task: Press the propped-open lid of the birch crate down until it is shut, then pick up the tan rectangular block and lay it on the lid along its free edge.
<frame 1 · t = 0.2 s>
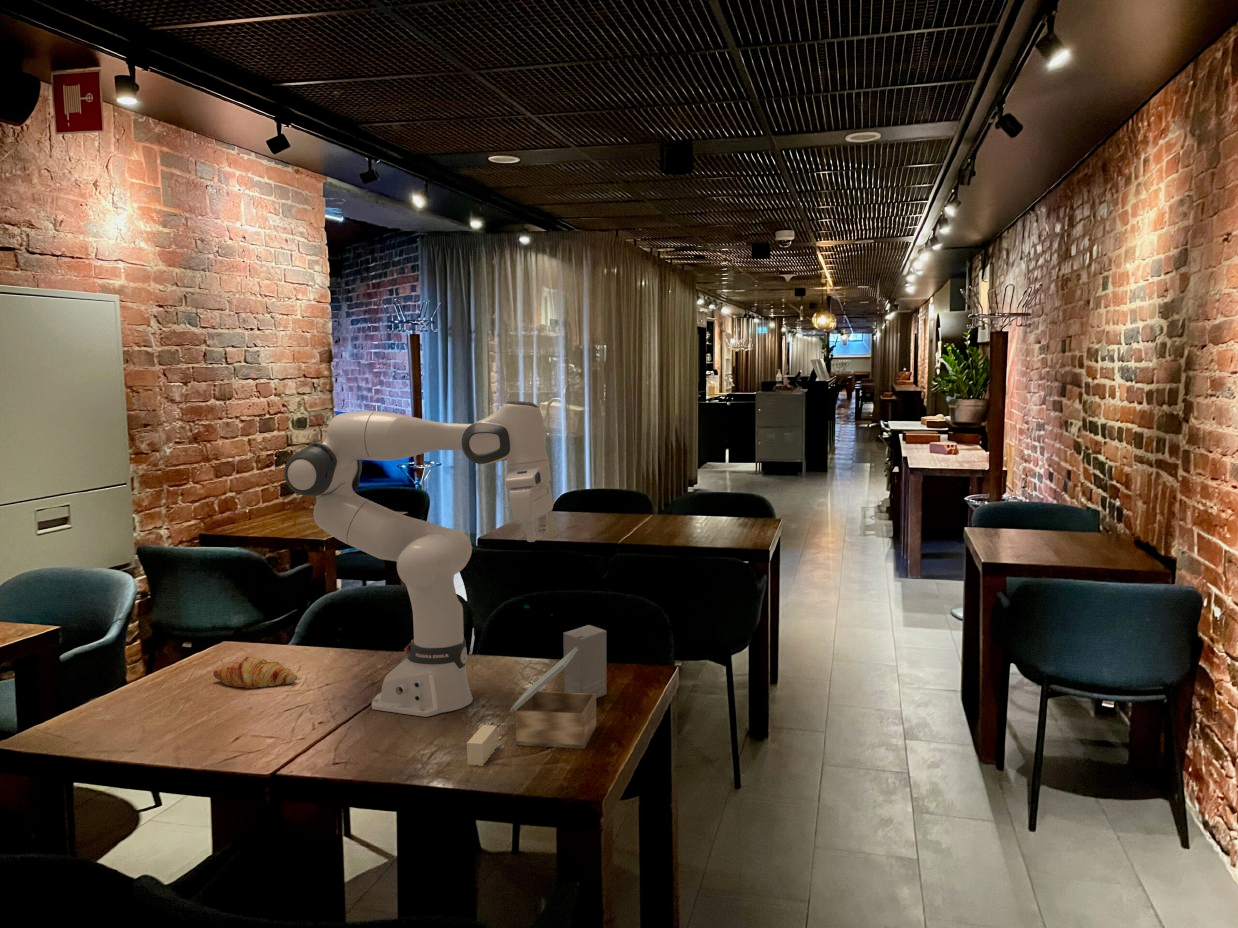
hand: (537, 537, 201), 39 cm above the table, tool pointing down, fingers open, 8 cm apart
skincare box: (585, 697, 211), on the table
croissant: (255, 685, 224), on the table
crate: (557, 735, 189), on the table
tan rectangular block: (482, 756, 179), on the table
lid: (544, 679, 188), point 12 cm above the table, hinge at 42.0°
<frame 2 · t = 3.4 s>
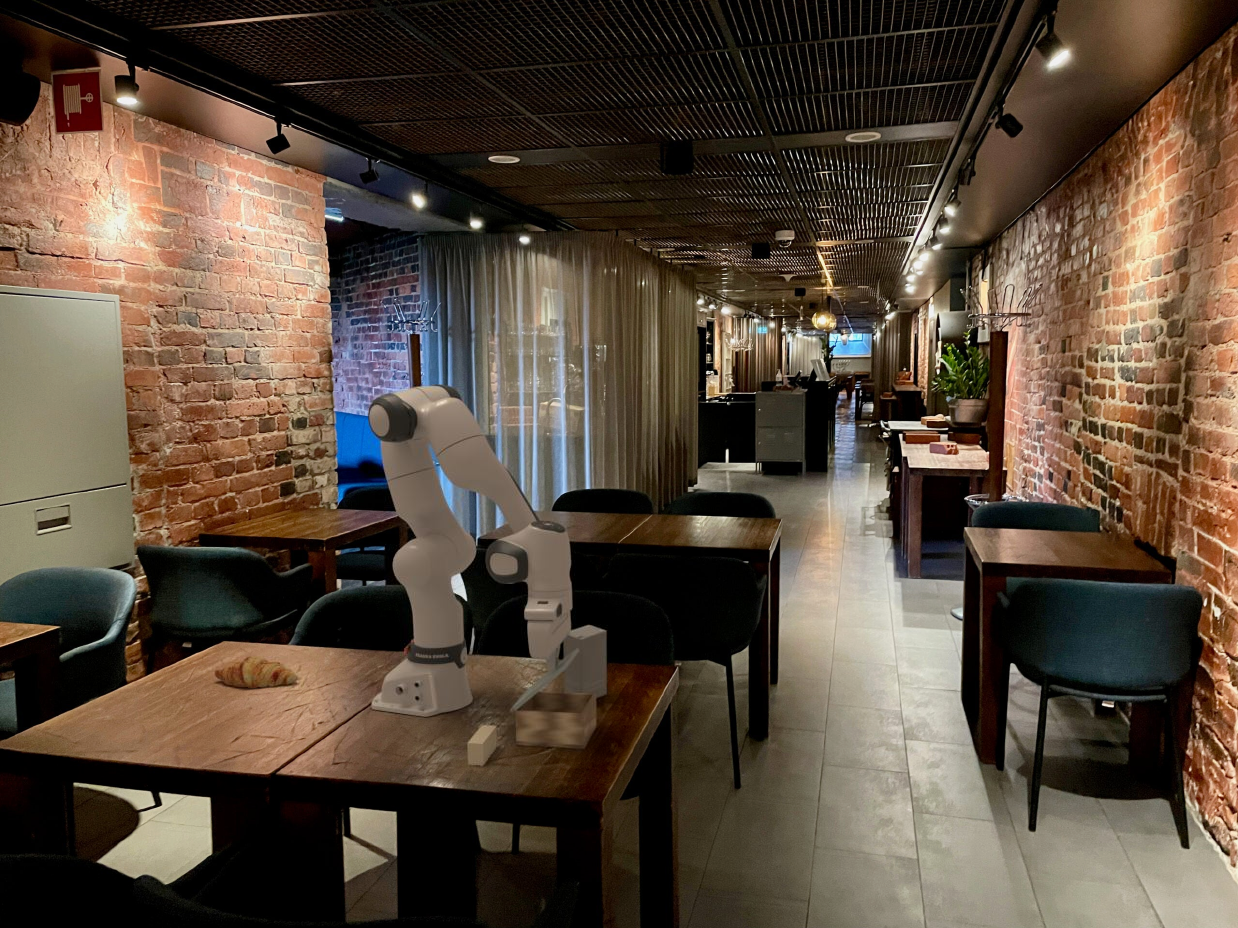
hand: (552, 667, 188), 14 cm above the table, tool pointing down, fingers closed, pressing on lid
lid: (544, 679, 188), point 12 cm above the table, hinge at 40.7°, touching gripper
everything else where it was.
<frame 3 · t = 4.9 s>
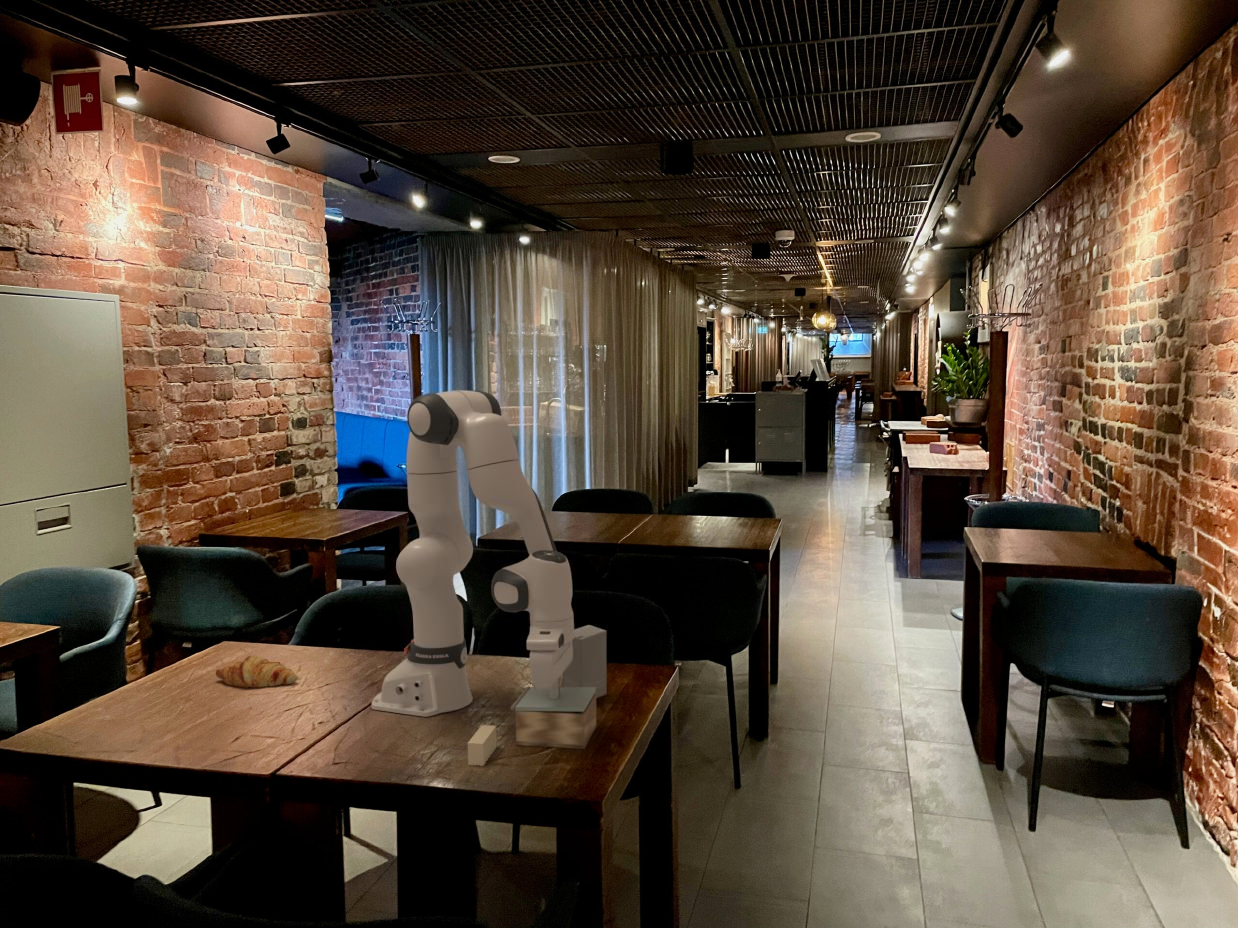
hand: (555, 696, 188), 8 cm above the table, tool pointing down, fingers closed, pressing on lid
lid: (554, 698, 188), point 8 cm above the table, hinge at 2.4°, touching gripper
everything else where it was.
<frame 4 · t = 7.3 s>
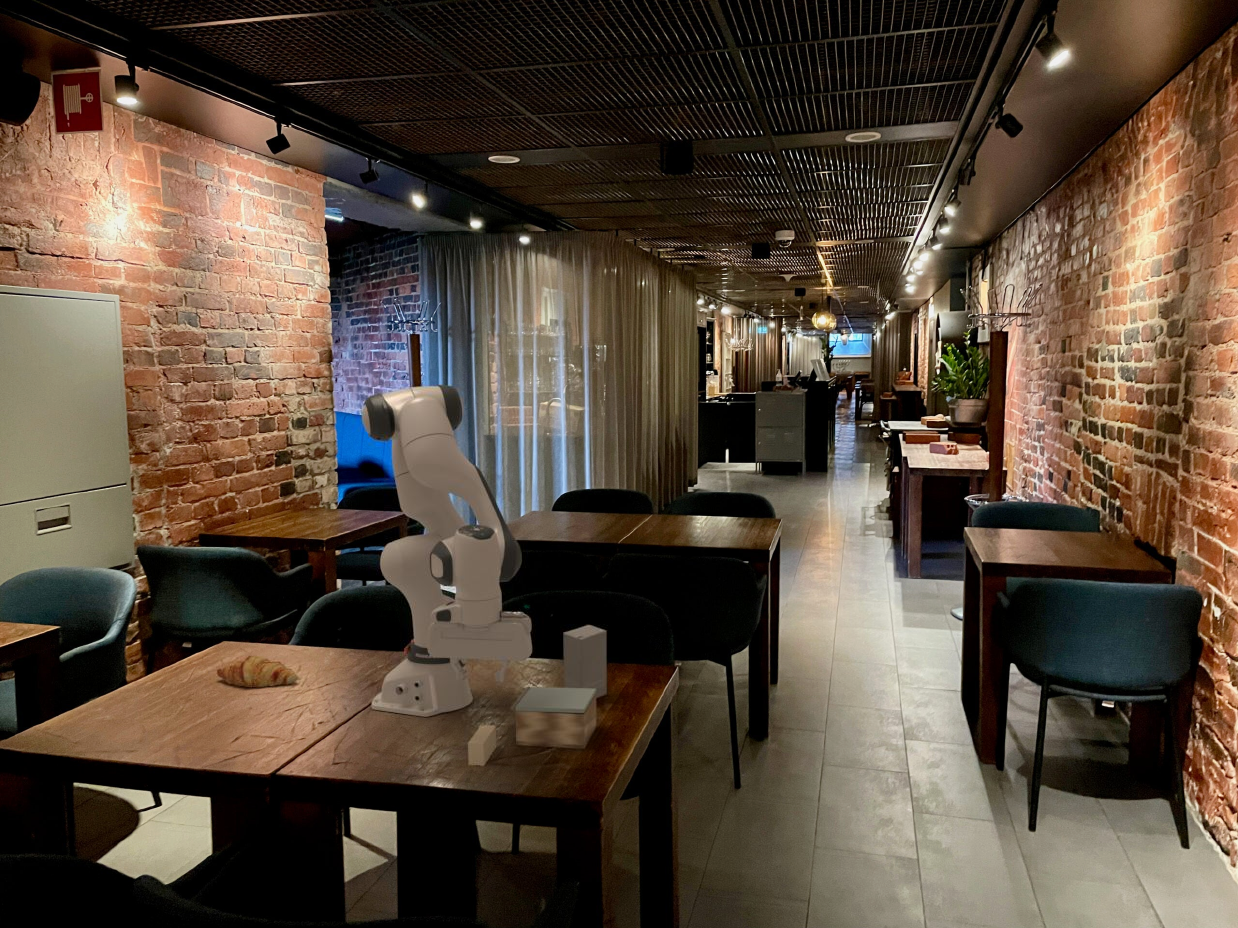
hand: (480, 680, 178), 15 cm above the table, tool pointing down, fingers open, 6 cm apart
lid: (554, 699, 188), point 8 cm above the table, hinge at 1.2°
everything else where it was.
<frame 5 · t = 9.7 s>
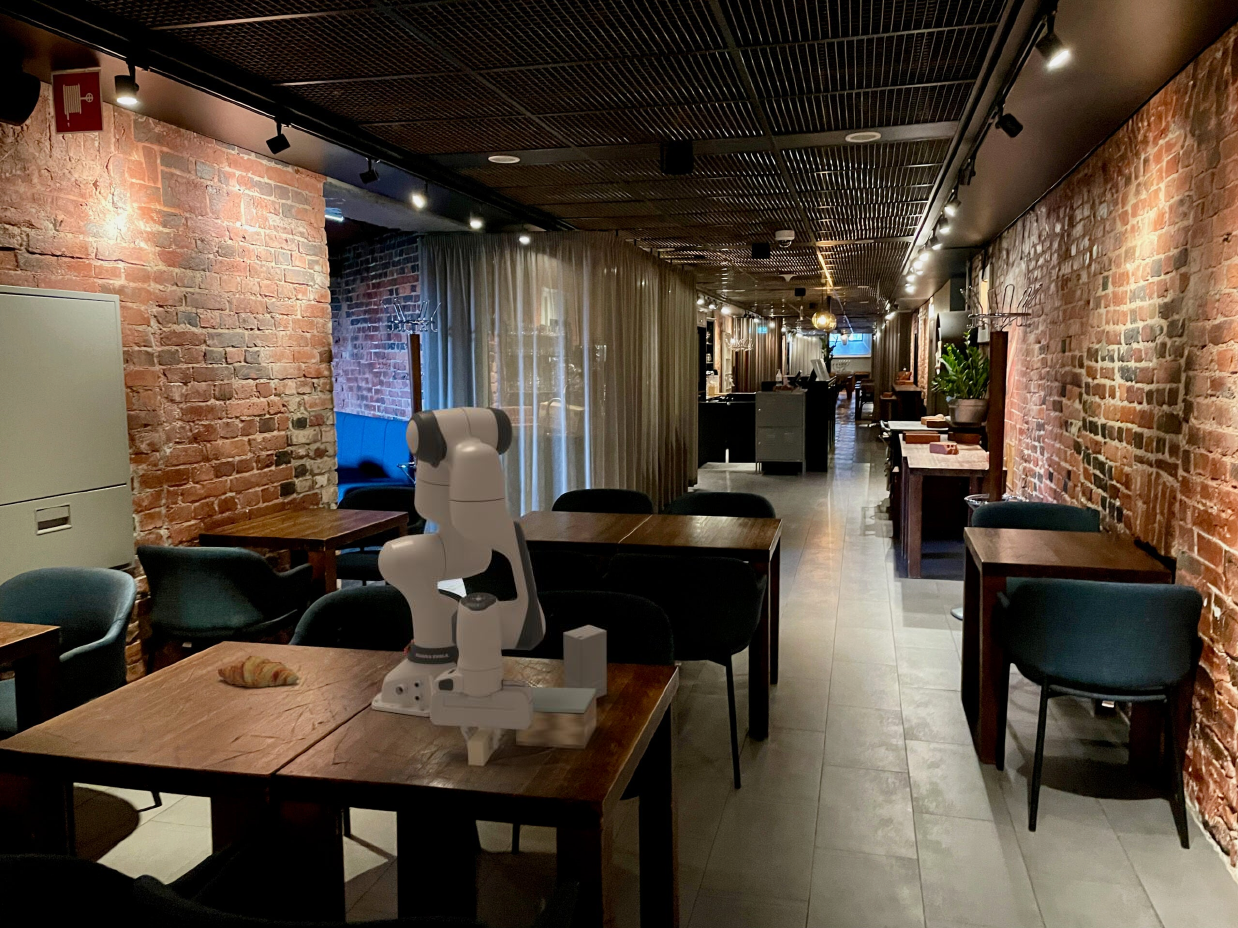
hand: (482, 747, 179), 2 cm above the table, tool pointing down, fingers closed on tan rectangular block, 3 cm apart
tan rectangular block: (482, 755, 179), on the table, touching gripper
everything else where it was.
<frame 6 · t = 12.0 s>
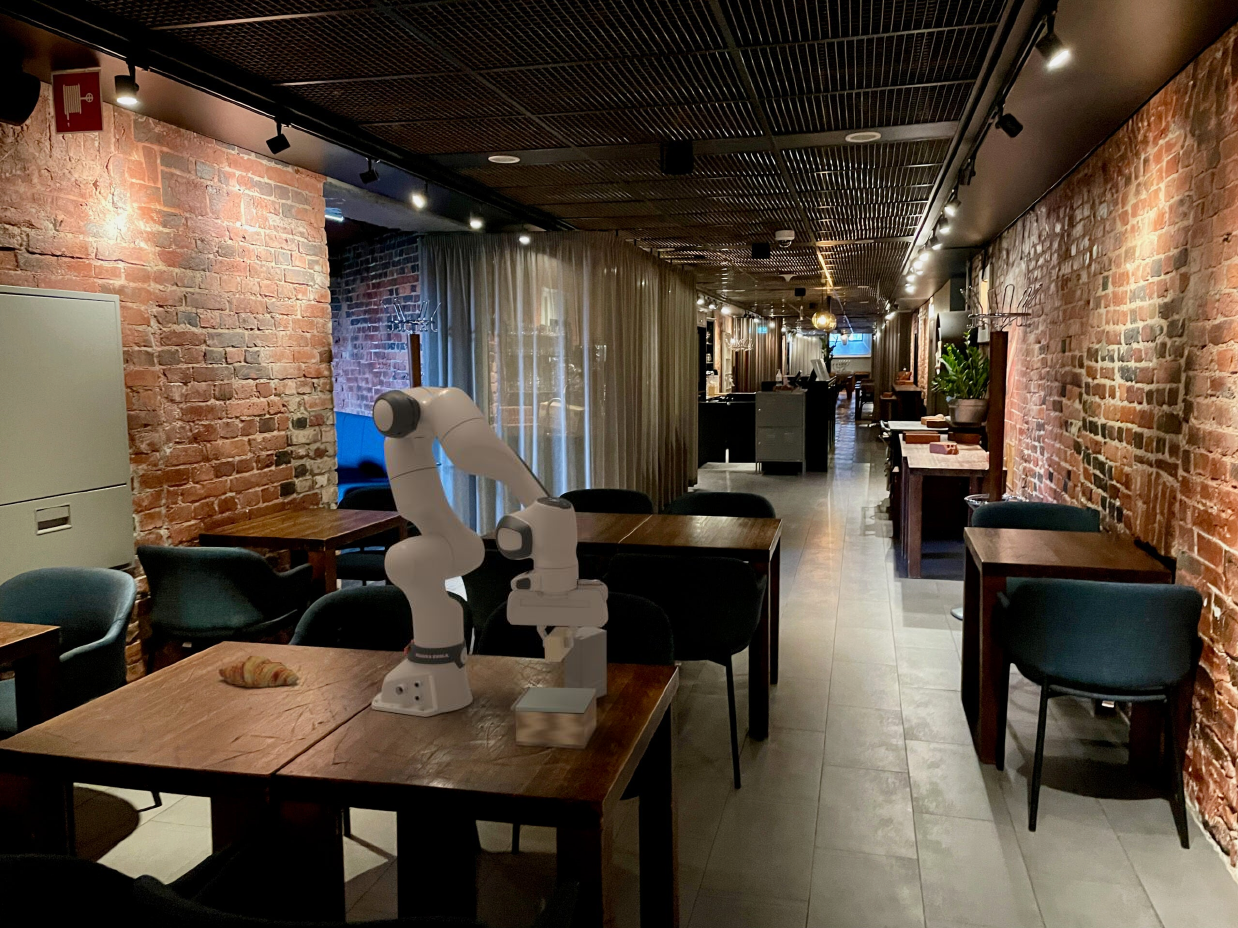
hand: (558, 646, 184), 20 cm above the table, tool pointing down, fingers closed on tan rectangular block, 3 cm apart
tan rectangular block: (558, 654, 184), point 18 cm above the table, touching gripper
everything else where it was.
when the fingers open (10 cm above the table, at t = 14.4 s): tan rectangular block stays where it is, resting on lid.
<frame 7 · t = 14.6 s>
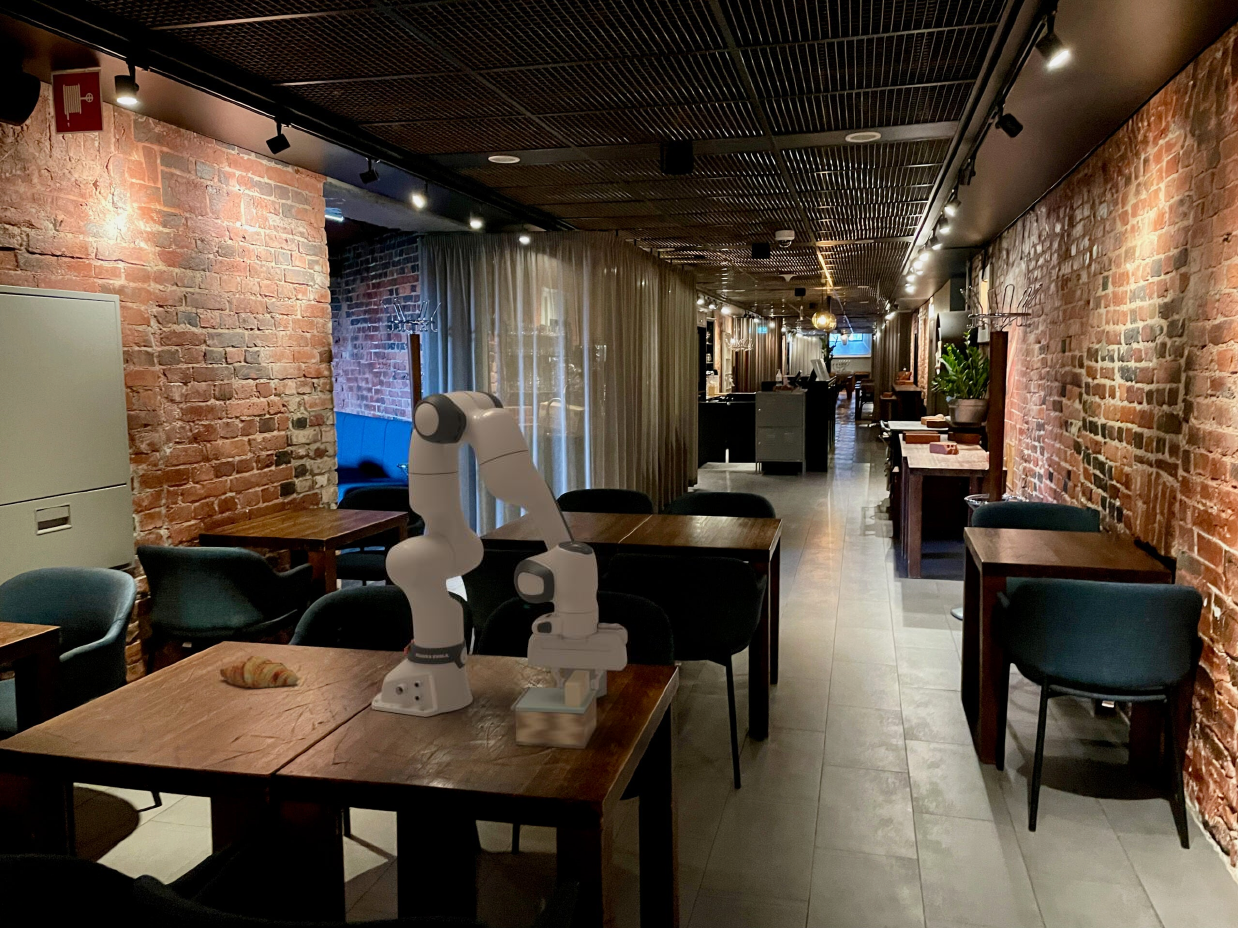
hand: (577, 688, 187), 10 cm above the table, tool pointing down, fingers open, 5 cm apart
tan rectangular block: (577, 698, 187), point 8 cm above the table, touching lid
lid: (554, 699, 188), point 8 cm above the table, hinge at 0.7°, touching tan rectangular block
everything else where it was.
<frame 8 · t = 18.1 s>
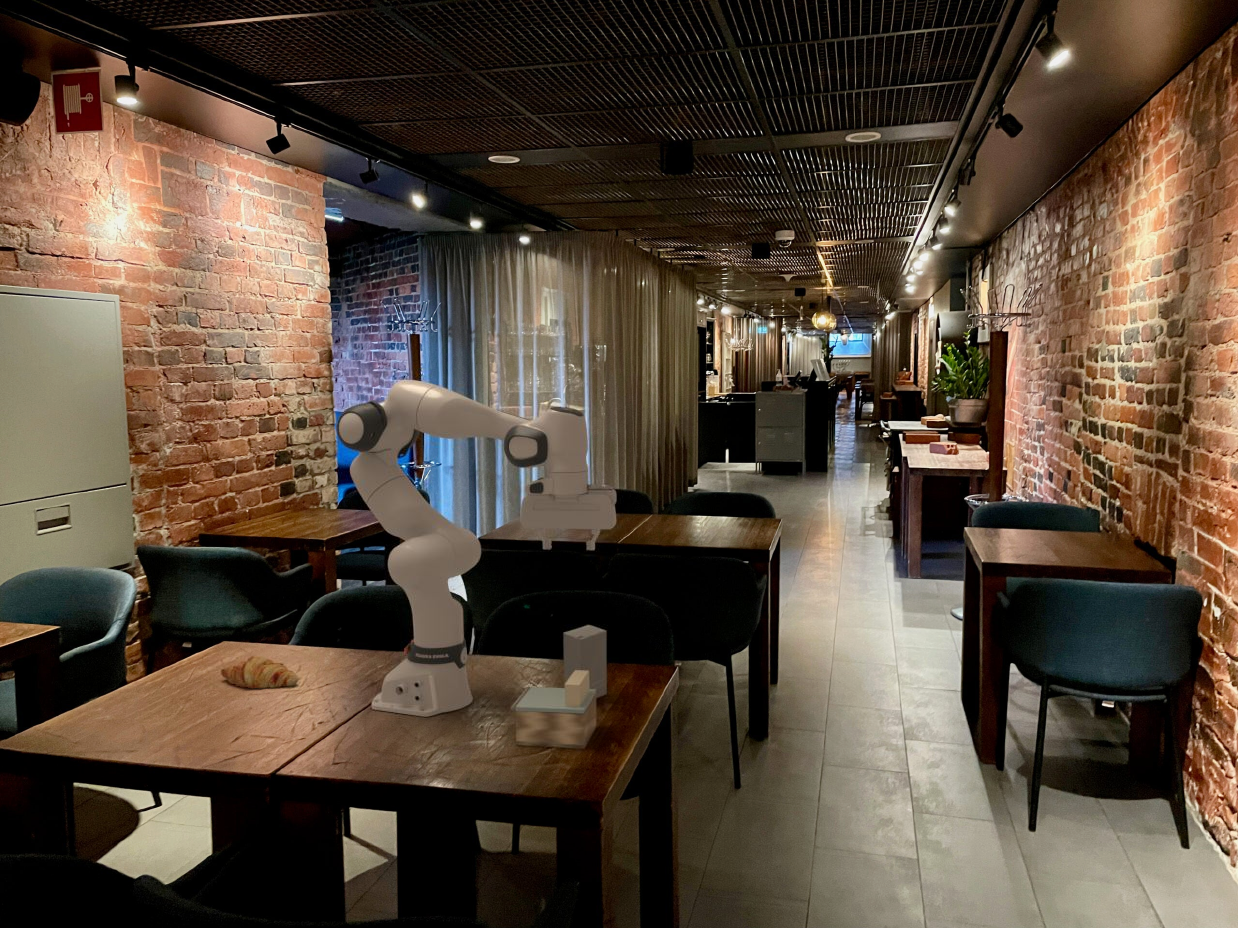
hand: (568, 549, 194), 37 cm above the table, tool pointing down, fingers open, 8 cm apart
at the end: lid at +1° (first picture: +42°); tan rectangular block inside the target area on the crate (0.2 cm from its centre), point 8.0 cm above the crate's base; the gripper is holding nothing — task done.
